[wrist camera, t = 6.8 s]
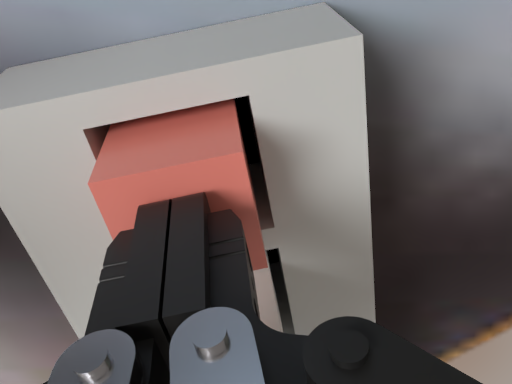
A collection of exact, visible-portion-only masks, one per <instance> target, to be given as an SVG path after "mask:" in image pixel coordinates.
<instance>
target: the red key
mask: <svg viewBox="0 0 512 384" xmlns="http://www.w3.org/2000/svg"><path fill="white" fill-rule="evenodd" d="M88 186H89V188H90V190H91V192H92V195H93V197H94V199H95V201H96V204H97V206H98V208H99V210H100V212H101V215H102V217H103V219H104V221H105V224H106V226H107V228H108V230H109V232H110V235H111V237H112V239H113V240H114V239H115V237H116V236H117V235H118V233H119V232H120V231H125V230H130V229H134V224H135V219H136V214H137V209H138V206H139V205H144V204H148V203H153V202H158V201H163V200H168V199H173V198H177V197H182V196H187V195H192V194H196V193H201V192H205V194H206V197H207V200H208V204H209V207H210V211H211V213H212V212H217V211H222V210H226V209H231V210H232V211H233V212H234V213H235V214H236V215H237V216H238V218H239V219H240V220H241V222H242V226H243V230H244V234H245V238H246V242H247V247H248V251H249V255H250V259H251V263H252V267H253V271H254V270H259V269H263V268H268V264H267V259H266V253H265V248H264V243H263V237H262V232H261V227H260V221H259V216H258V210H257V205H256V200H255V194H254V189H253V184H252V178H251V174H250V169H249V164H248V159H247V155H246V150H245V145H244V141H243V136H242V131H241V127H240V122H239V117H238V113H237V108H236V103H235V98H233V99H228V100H223V101H219V102H214V103H209V104H204V105H199V106H194V107H190V108H185V109H180V110H175V111H170V112H165V113H161V114H156V115H151V116H146V117H141V118H137V119H132V120H127V121H122V122H117V123H112V124H111V125H110V127H109V130H108V132H107V135H106V137H105V140H104V143H103V145H102V148H101V150H100V153H99V155H98V158H97V161H96V163H95V166H94V168H93V171H92V173H91V176H90V178H89V181H88Z"/></svg>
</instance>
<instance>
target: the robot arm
mask: <svg viewBox="0 0 512 384" xmlns="http://www.w3.org/2000/svg"><path fill="white" fill-rule="evenodd" d="M43 384H482V383H480V382H478V381H477V380H475V379H473V378H471V377H470V376H468V375H466V374H464V373H462V372H461V371H459V370H457V369H455V368H454V367H452V366H450V365H449V364H447V363H445V362H443V361H441V360H440V359H438V358H436V357H434V356H433V355H431V354H429V353H427V352H426V351H424V350H422V349H420V348H419V347H417V346H415V345H413V344H412V343H410V342H408V341H406V340H405V339H403V338H401V337H399V336H398V335H396V334H394V333H392V332H390V331H389V330H387V329H385V328H383V327H382V326H380V325H378V324H376V323H374V322H372V321H370V320H368V319H364V318H361V317H355V316H343V317H337V318H333V319H330V320H327V321H325V322H323V323H321V324H320V325H318V326H317V327H316V328H315V329H314V330H313V331H312V332H311V333H310V334H309V336H308V335H297V334H288V333H283V332H279V331H276V330H274V329H272V328H270V327H268V326H267V325H265V324H264V323H263V322H262V321H261V320H260V313H259V306H258V300H257V293H256V286H255V279H254V273H253V267H252V263H251V259H250V255H249V251H248V247H247V242H246V238H245V234H244V230H243V226H242V222H241V220H240V219H239V218H238V216H237V215H236V214H235V213H234V212H233V211H232V210H231V209H226V210H222V211H217V212H212V213H211V211H210V207H209V204H208V200H207V197H206V194H205V192H201V193H196V194H192V195H187V196H182V197H177V198H173V199H168V200H163V201H158V202H153V203H148V204H144V205H139V206H138V209H137V214H136V219H135V224H134V229H130V230H125V231H120V232H119V233H118V235H117V236H116V237H115V239H114V240H113V241H112V243H111V244H110V245H109V246H108V248H107V251H106V254H105V258H104V262H103V269H102V270H101V274H100V278H99V283H98V285H97V289H96V293H95V297H94V301H93V305H92V308H91V312H90V316H89V320H88V324H87V328H86V332H85V335H84V337H82V338H80V339H79V340H77V341H76V342H74V343H73V344H72V345H71V346H69V347H68V348H67V349H66V350H65V351H64V352H63V354H62V355H61V356H60V357H59V359H58V360H57V362H56V364H55V366H54V368H53V370H52V372H51V375H50V378H49V380H48V381H47V382H45V383H43Z"/></svg>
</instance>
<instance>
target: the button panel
mask: <svg viewBox="0 0 512 384" xmlns="http://www.w3.org/2000/svg"><path fill="white" fill-rule="evenodd" d="M243 96H247V100H248V105H249V110H250V115H251V120H252V125H253V130H254V135H255V141H256V146H257V151H258V156H259V161H260V162H259V163H254V164H249V169H250V174H251V178H252V184H253V189H254V194H255V200H256V205H257V210H258V216H259V221H260V227H261V232H262V237H263V243H264V248H265V250H270V249H275V248H277V252H278V257H279V262H276V263H271V264H270V269H271V274H272V278H273V283H274V288H275V292H276V297H277V302H278V307H279V312H280V317H281V323H282V328H283V333H288V334H297V335H308V336H309V334H310V333H311V332H312V331H313V330H314V329H315V328H316V327H317V326H318V325H320V324H321V323H323V322H325V321H327V320H330V319H333V318H337V317H343V316H355V317H361V318H364V319H368V320H370V321H372V322H374V323H376V318H375V295H374V273H373V250H372V228H371V206H370V183H369V161H368V138H367V116H366V93H365V71H364V49H363V34H362V33H361V32H359V31H358V30H357V29H356V28H355V27H353V26H352V25H351V24H350V23H349V22H347V21H346V20H345V19H344V18H343V17H341V16H340V15H339V14H338V13H337V12H335V11H334V10H333V9H332V8H331V7H330V6H328V5H327V4H326V3H325V2H322V3H317V4H312V5H307V6H302V7H298V8H293V9H288V10H283V11H278V12H274V13H269V14H264V15H259V16H254V17H250V18H245V19H240V20H235V21H231V22H226V23H221V24H216V25H211V26H207V27H202V28H197V29H192V30H187V31H183V32H178V33H173V34H168V35H163V36H159V37H154V38H149V39H144V40H139V41H135V42H130V43H125V44H120V45H115V46H111V47H106V48H101V49H96V50H91V51H87V52H82V53H77V54H72V55H67V56H63V57H58V58H53V59H48V60H43V61H39V62H34V63H29V64H24V65H19V66H15V67H10V68H7V69H6V70H5V71H4V72H3V73H2V74H0V207H1V209H2V210H3V212H4V214H5V215H6V217H7V219H8V220H9V222H10V224H11V225H12V227H13V229H14V230H15V232H16V234H17V236H18V237H19V239H20V241H21V242H22V244H23V246H24V247H25V249H26V251H27V252H28V254H29V256H30V257H31V259H32V261H33V262H34V264H35V266H36V267H37V269H38V271H39V272H40V274H41V276H42V277H43V279H44V281H45V282H46V284H47V286H48V287H49V289H50V291H51V293H52V294H53V296H54V298H55V299H56V301H57V303H58V304H59V306H60V308H61V309H62V311H63V313H64V314H65V316H66V318H67V319H68V321H69V323H70V324H71V326H72V328H73V329H74V331H75V333H76V334H77V336H78V338H79V339H80V338H82V337H84V335H85V332H86V328H87V324H88V320H89V316H90V312H91V308H92V305H93V301H94V297H95V293H96V289H97V285H98V283H99V278H100V274H101V270H102V269H103V262H104V258H105V254H106V251H107V248H108V246H109V245H110V244H111V243H112V241H113V239H112V237H111V235H110V232H109V230H108V228H107V226H106V224H105V221H104V219H103V217H102V215H101V212H100V210H99V208H98V206H97V204H96V201H95V199H94V197H93V195H92V192H91V190H90V188H89V186H88V181H89V178H90V176H91V173H92V171H93V168H94V166H95V163H96V161H97V158H98V155H99V153H100V150H101V148H102V145H103V143H104V140H105V137H106V135H107V132H108V130H109V127H110V125H111V124H112V123H117V122H122V121H127V120H132V119H137V118H141V117H146V116H151V115H156V114H161V113H165V112H170V111H175V110H180V109H185V108H190V107H194V106H199V105H204V104H209V103H214V102H219V101H223V100H228V99H233V98H238V97H243Z"/></svg>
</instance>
